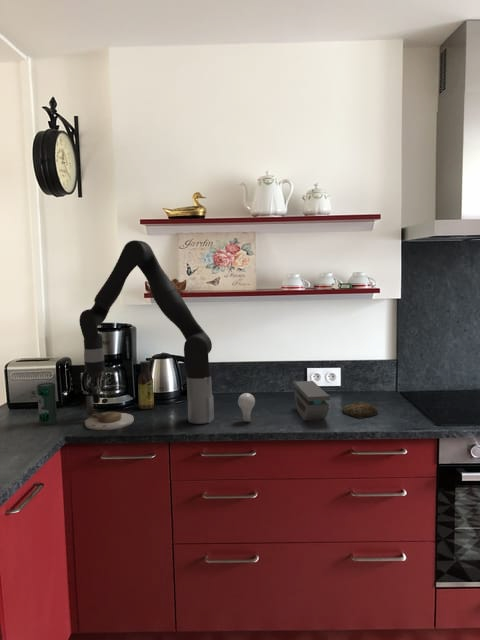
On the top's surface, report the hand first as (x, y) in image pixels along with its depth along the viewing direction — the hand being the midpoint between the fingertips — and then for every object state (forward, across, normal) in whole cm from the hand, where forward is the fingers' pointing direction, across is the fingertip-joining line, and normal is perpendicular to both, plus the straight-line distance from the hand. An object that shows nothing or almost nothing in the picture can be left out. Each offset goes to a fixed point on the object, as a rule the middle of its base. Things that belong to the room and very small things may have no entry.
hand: (96, 402), depth 198 cm
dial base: (+6, -5, -8) cm, 11 cm away
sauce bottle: (+6, +16, -14) cm, 22 cm away
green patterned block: (+6, -9, +16) cm, 19 cm away
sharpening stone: (+6, +14, -83) cm, 84 cm away
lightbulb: (+6, +3, -60) cm, 60 cm away
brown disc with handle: (+4, -5, -6) cm, 9 cm away
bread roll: (+6, +21, -102) cm, 104 cm away
